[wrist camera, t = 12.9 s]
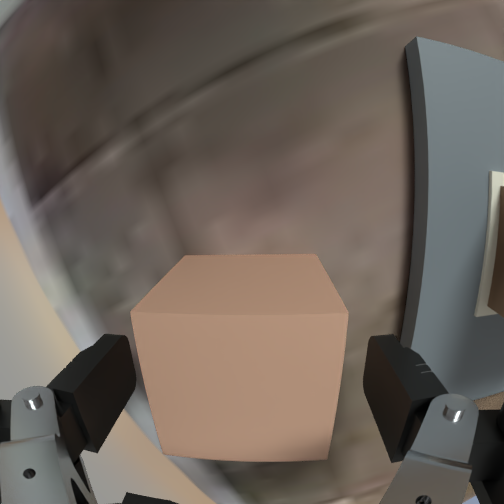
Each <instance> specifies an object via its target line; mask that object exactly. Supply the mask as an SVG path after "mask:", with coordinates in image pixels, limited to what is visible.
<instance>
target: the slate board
mask: <svg viewBox="0 0 504 504" xmlns="http://www.w3.org/2000/svg"><path fill="white" fill-rule="evenodd" d="M405 49H406V56H407V63H408V71H409V79H410V88H411V99H412V111H413V126H414V149H415V203H414V227H413V243H412V256H411V267H410V276H409V285H408V293H407V301H406V308H405V315H404V322H403V328H402V334H401V340H400V344H401V345H402V347H403V348H405V347H408V348H410V349H412V350H413V351H415V352H417V353H418V354H420V356H421V357H422V358H423V359H424V361H425V362H426V365H428V366H429V367H430V369H431V371H432V372H433V373H434V374H435V375H436V376H437V378H438V379H439V380H440V382H441V383H442V384H443V386H444V387H445V388H446V390H447V391H448V393H449V394H459V395H463V396H465V397H467V398H469V399H471V400H476V399H479V398H483V397H486V396H490V395H493V394H496V393H499V392H503V391H504V318H503V317H502V316H500V315H499V314H498V313H496V312H495V311H494V310H492V309H491V308H489V307H488V306H487V304H488V299H489V294H490V289H491V283H492V277H493V270H494V263H495V255H496V247H497V237H498V226H499V211H500V186H504V62H503V61H500V60H497V59H494V58H492V57H489V56H486V55H483V54H480V53H477V52H474V51H471V50H467V49H464V48H461V47H457V46H453V45H450V44H446V43H442V42H438V41H434V40H430V39H426V38H421V37H415V38H414V39H413V40H412V41H411V42H410V43H408V44H407V45H406V46H405Z"/></svg>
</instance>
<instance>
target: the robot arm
mask: <svg viewBox="0 0 504 504" xmlns="http://www.w3.org/2000/svg"><path fill="white" fill-rule="evenodd" d="M135 386H136V373H135V368H134V364H133V359H132V354H131V350H130V345H129V341H128V338H127V337H126V336H125V335H114V334H104V335H103V336H102V337H101V338H100V339H99V340H98V341H97V342H96V343H95V344H94V345H93V346H91V347H89V348H87V349H85V350H83V351H81V352H80V353H79V354H78V355H77V356H76V357H75V358H74V359H73V360H72V362H70V363H69V364H68V365H67V366H66V368H64V369H63V370H62V371H61V372H60V373H59V374H58V375H57V376H56V377H55V378H54V379H53V380H52V381H51V382H50V384H49V385H47V387H43V386H33V387H28V388H25V389H23V390H21V391H19V392H18V393H17V394H16V395H15V396H14V397H13V399H12V400H0V504H1V503H2V504H98V503H97V501H96V498H95V496H94V493H93V490H92V487H91V484H90V481H89V478H88V475H87V472H86V468H85V465H84V462H83V459H82V457H81V455H80V454H81V452H82V451H83V450H87V451H91V452H95V453H98V451H99V450H100V448H101V446H102V444H103V443H104V441H105V439H106V438H107V436H108V434H109V433H110V431H111V429H112V427H113V426H114V424H115V422H116V420H117V419H118V417H119V415H120V414H121V412H122V410H123V409H124V407H125V405H126V404H127V402H128V400H129V399H130V397H131V395H132V394H133V392H134V390H135ZM363 388H364V393H365V396H366V399H367V401H368V403H369V406H370V409H371V411H372V414H373V416H374V419H375V421H376V424H377V426H378V429H379V431H380V434H381V437H382V439H383V442H384V445H385V447H386V450H387V452H388V455H389V458H390V461H391V463H393V462H398V461H403V462H402V464H401V466H400V468H399V469H398V471H397V473H396V475H395V477H394V479H393V481H392V482H391V484H390V486H389V488H388V489H387V491H386V493H385V495H384V496H383V498H382V500H381V501H380V503H379V504H462V502H463V499H464V496H465V493H466V489H467V486H468V483H469V482H471V485H472V487H473V489H474V491H475V494H476V496H477V498H478V500H479V503H480V504H504V403H503V405H502V407H501V409H500V410H478V407H477V405H476V404H475V403H474V402H473V401H472V400H471V399H469V398H467V397H465V396H463V395H459V394H449V393H448V391H447V390H446V388H445V387H444V386H443V384H442V383H441V382H440V380H439V379H438V378H437V376H436V375H435V374H434V373H433V372H432V371H431V369H430V367H429V366H428V365H426V362H425V361H424V359H423V358H422V357H421V356H420V354H418V353H417V352H415V351H413V350H412V349H410V348H408V347H405V348H403V347H402V345H401V344H400V343H399V341H398V340H397V339H396V337H395V336H394V335H393V334H390V335H378V336H371V337H370V339H369V342H368V349H367V356H366V363H365V369H364V376H363ZM115 504H178V503H175V502H172V501H170V500H163V499H158V498H152V497H147V496H142V495H137V494H132V493H128V492H127V493H126V495H125V497H124V500H123V502H122V503H115Z"/></svg>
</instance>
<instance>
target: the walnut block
mask: <svg viewBox="0 0 504 504" xmlns="http://www.w3.org/2000/svg"><path fill="white" fill-rule="evenodd" d="M487 306H488V307H489V308H491V309H492V310H494V311H495V312H496V313H498V314H499V315H500V316H502V317H503V318H504V186H500V211H499V226H498V237H497V247H496V255H495V263H494V270H493V277H492V283H491V289H490V294H489V299H488V304H487Z"/></svg>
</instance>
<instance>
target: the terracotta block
mask: <svg viewBox="0 0 504 504" xmlns="http://www.w3.org/2000/svg"><path fill="white" fill-rule="evenodd" d="M130 314H131V320H132V325H133V331H134V336H135V342H136V347H137V352H138V357H139V362H140V366H141V371H142V375H143V380H144V384H145V389H146V393H147V397H148V401H149V405H150V409H151V413H152V416H153V420H154V424H155V427H156V431H157V435H158V438H159V441H160V445H161V448H162V451H163V454H165V455H172V456H180V457H189V458H199V459H210V460H225V461H248V462H288V461H311V460H326V459H327V458H328V453H329V448H330V443H331V437H332V432H333V426H334V421H335V415H336V409H337V403H338V396H339V390H340V383H341V376H342V368H343V360H344V352H345V344H346V335H347V325H348V315H349V313H348V311H347V309H346V307H345V305H344V303H343V302H342V300H341V298H340V296H339V294H338V292H337V291H336V289H335V287H334V285H333V283H332V282H331V280H330V278H329V276H328V274H327V273H326V271H325V269H324V267H323V266H322V264H321V262H320V260H319V259H318V257H317V255H316V254H272V255H185V256H184V257H183V258H182V259H181V260H180V261H179V262H178V263H177V264H176V265H175V266H174V267H173V268H172V269H171V270H170V271H169V272H168V273H167V274H166V275H165V276H164V277H163V278H162V279H161V280H160V281H159V282H158V283H157V284H156V285H155V286H154V287H153V288H152V289H151V290H150V291H149V293H148V294H147V295H146V296H145V297H144V298H143V299H142V300H141V301H140V302H139V303H138V304H137V305H136V306H135V307H134V308H133V309H132V310H131V311H130Z"/></svg>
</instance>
